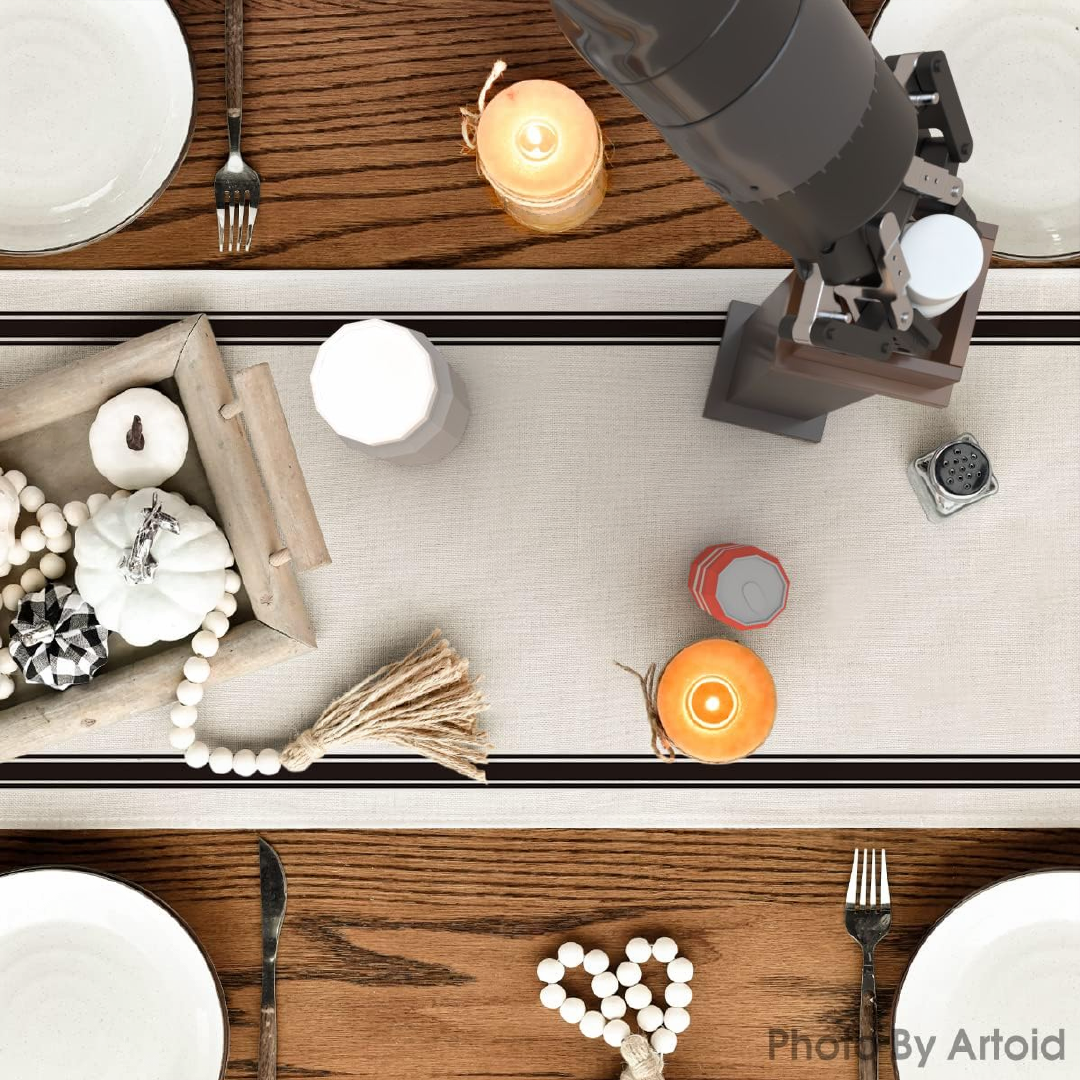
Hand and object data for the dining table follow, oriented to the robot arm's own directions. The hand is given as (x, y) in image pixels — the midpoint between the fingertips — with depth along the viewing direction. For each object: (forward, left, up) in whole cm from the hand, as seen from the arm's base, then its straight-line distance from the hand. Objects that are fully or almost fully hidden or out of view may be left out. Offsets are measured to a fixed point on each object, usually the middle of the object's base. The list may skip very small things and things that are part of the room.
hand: (941, 291), depth 48 cm
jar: (+10, -31, -31) cm, 45 cm away
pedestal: (0, -2, -31) cm, 31 cm away
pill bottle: (0, -2, -4) cm, 5 cm away
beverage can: (+18, -2, -31) cm, 36 cm away
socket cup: (0, -2, -5) cm, 5 cm away
